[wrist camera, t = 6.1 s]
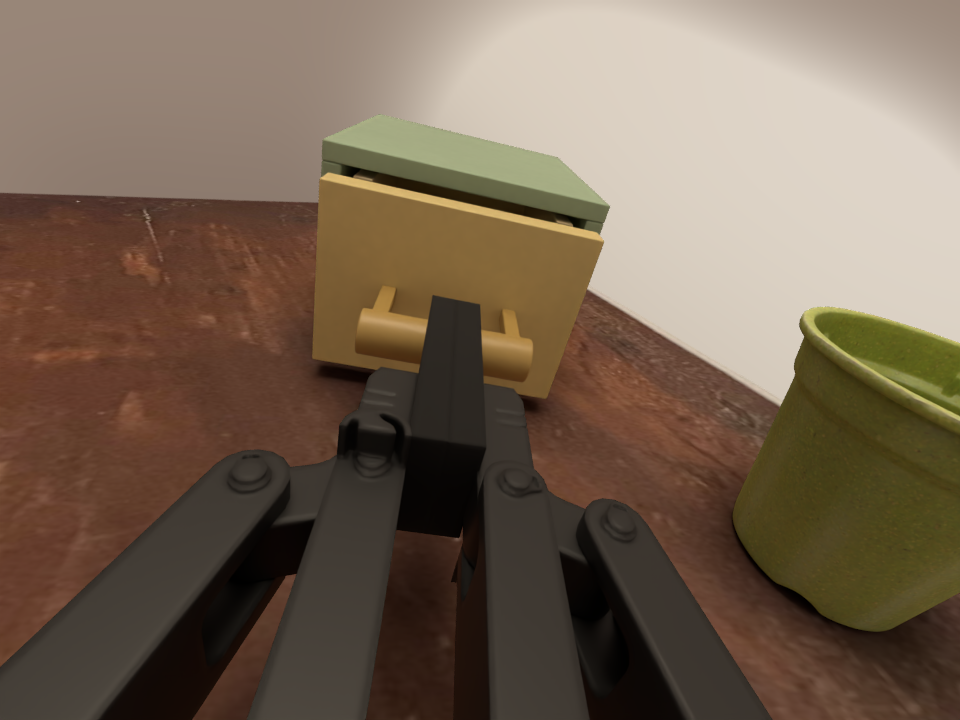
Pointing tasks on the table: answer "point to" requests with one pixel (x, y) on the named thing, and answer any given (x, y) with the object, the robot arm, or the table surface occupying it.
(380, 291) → the drawer
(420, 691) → the table surface
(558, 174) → the cabinet
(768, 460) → the plant pot
